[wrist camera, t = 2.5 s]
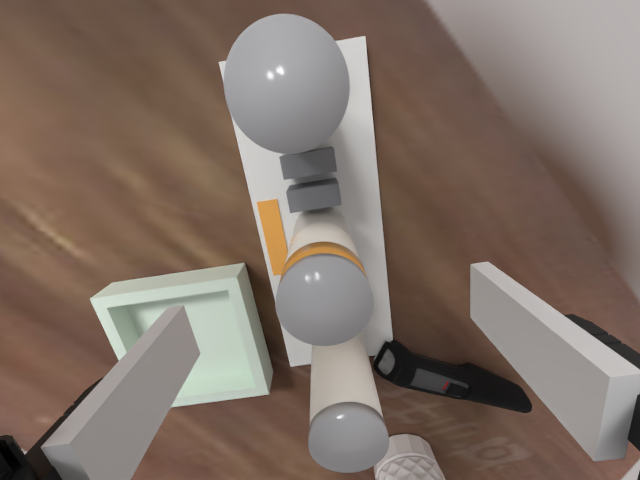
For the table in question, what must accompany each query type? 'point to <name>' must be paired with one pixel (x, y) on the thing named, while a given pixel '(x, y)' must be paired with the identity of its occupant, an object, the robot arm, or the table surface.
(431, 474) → the white cup
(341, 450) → the fuse
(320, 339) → the marked fuse
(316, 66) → the cream grey cylinder
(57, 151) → the table surface
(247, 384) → the tray
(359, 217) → the board
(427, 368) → the electric trimmer
